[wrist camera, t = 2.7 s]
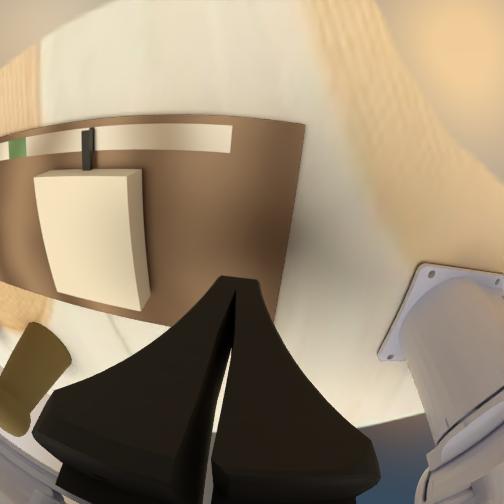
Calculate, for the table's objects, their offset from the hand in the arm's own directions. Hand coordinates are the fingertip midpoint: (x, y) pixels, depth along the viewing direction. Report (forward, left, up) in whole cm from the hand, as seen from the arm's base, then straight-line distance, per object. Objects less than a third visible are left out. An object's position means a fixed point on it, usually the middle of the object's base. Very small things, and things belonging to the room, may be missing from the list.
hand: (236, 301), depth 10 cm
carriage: (+8, -1, -4) cm, 9 cm away
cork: (+19, +14, -5) cm, 24 cm away
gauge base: (+11, 0, -5) cm, 13 cm away
